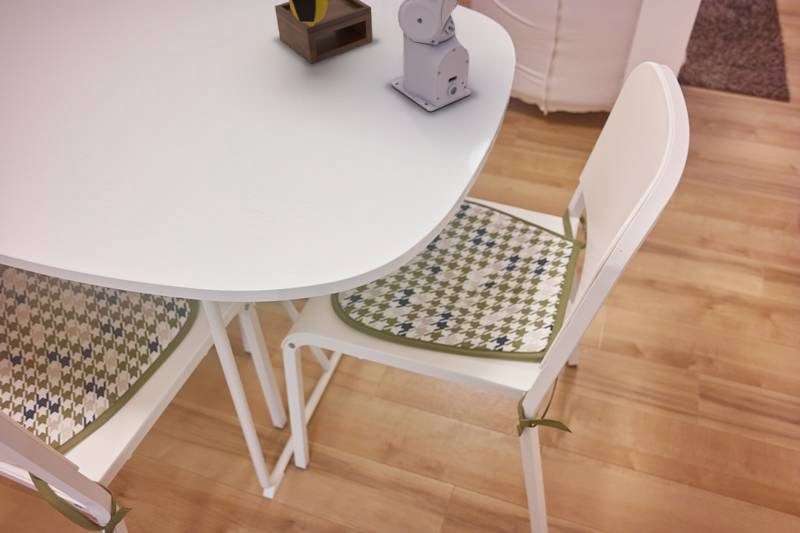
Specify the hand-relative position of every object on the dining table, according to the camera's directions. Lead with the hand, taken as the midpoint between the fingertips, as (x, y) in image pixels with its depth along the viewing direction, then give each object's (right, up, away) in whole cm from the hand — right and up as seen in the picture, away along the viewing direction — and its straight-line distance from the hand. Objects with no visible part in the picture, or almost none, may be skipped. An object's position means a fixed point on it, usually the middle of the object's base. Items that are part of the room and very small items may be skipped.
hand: (310, 11), depth 89 cm
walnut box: (+1, +1, +13) cm, 13 cm away
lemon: (0, -2, +2) cm, 2 cm away
